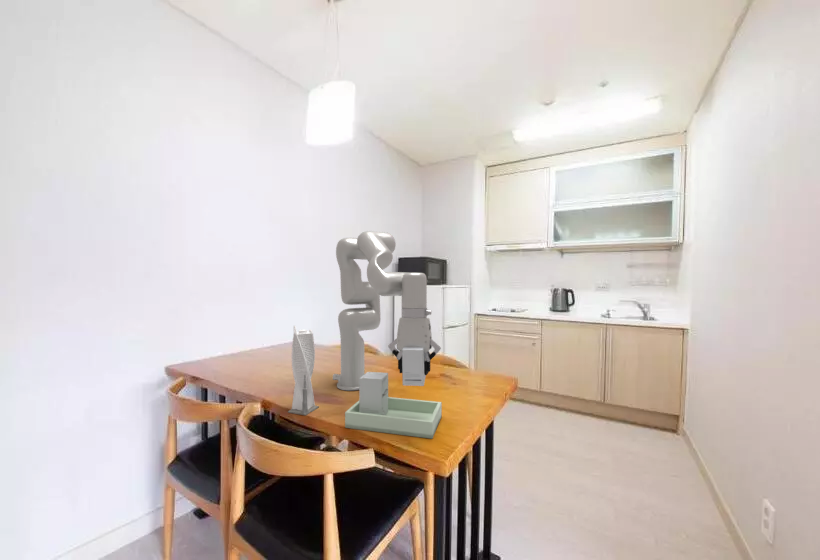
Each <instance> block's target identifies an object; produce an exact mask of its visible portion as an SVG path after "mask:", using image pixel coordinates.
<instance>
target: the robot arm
mask: <svg viewBox="0 0 820 560" xmlns="http://www.w3.org/2000/svg"><path fill="white" fill-rule="evenodd" d="M396 243H397V242H396V240H395V237H394V236H393V235H392V234H391V233H389V232H385V231H384V232H383V231H374V230H373V231H372V230H366V231H364V232H361V233H359V235H358V236H357V237H343V238H342V239H340V240H338V242H337V243H336V248H335V256H336V261H337V263H338V264H337V265H338V268H339V275H340V297H341V301H342V303H343V304H345V305H350V306H352V305H354V306H355V305H365V307H349V308H345V309H343V310H341V311H340V312H339V313H338V316H337V317H338V318H337V322H338V327H339V335H340V374H338V373H333V374H332V380H333V381H337V383H336V387H337V389H339V390H343V391H347V392H348V391H349V392H350V391H359V379H360V378H361V377H362V376H363V375H364V374H365V340H364V338H363V337H362V335H361V334H360V333H359V332H362V331H373V330H376V329H378V328H379V326H380V324H381V300H380V299H381V297H401V317H399V320H398V325H397V333H396V334H397V335H396V338H395V339H394V340H392V342H390V343H388V349H389V350H390V351H391V352H392V354H393V355H394V357H396V360H397V369H398V370H399V374H402V349H403V347H420V348H424V357H425V362H424V375H426V376H427V375H428V374H429V373H430V372H431V360H432V359H434V357H435V356H437V354H438V353H439V352H440V351H441V349H442V348H441V346H440V345H439V344H438V343H436V341H434V340H433V337H432V325H431V321H430V320H431V319H430V318H429V317H428V316H431V315H432V310H431V309H428V307H427V306H428V305H427V303H428V302H427V300H428V299H427V293H428V291H427V288H428V287H427V285H428V284H427V282H428V281H427V275H426V274H425V273H424V272H408V271H407V272H404V271H403V272H402V271H399V272H398V271H383V270H385V269H387V268H388V267H390V265H391V263H392V261H393V258H394V256H393V253H394V251H395V250H396V247H397V246H396V245H397V244H396ZM356 260H366V261H367V262H368V264H367V266H366V278H367V281H363V279H362V270H361V268H360V266H359V263H357V262H356ZM380 296H381V297H380ZM395 346H396V347H395ZM432 348H433V351H432V352H431V353H430V350H431V349H432Z"/></svg>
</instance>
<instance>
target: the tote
mask: <svg viewBox="0 0 820 560" xmlns="http://www.w3.org/2000/svg"><path fill="white" fill-rule="evenodd" d="M442 404H443V403H442V401H434V400H421V399H414V398H413V399H412V398H402V397H401V398H400V397H393V396H388V412H387V413H386V415H377V414H369V413H360V412H359V400H358V401H356V402H355V403H354V404H353V405H352V406H350V407H349V409H347V410H346V411H345V412H344V428H345V429H352V430H353V429H354V430H360V431H368V432H369V431H370V432H375V433H377V432H378V433H385V434H393V435H399V436H406V437H407V436H408V437H416V438H424V439H430V440H431V439H434V436H435V433H436V431H437V429H438V426H439V425H440V421H441V419H442V415H443V414H442V413H443V412H442V410H443V409H442V407H443V405H442Z"/></svg>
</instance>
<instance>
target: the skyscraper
mask: <svg viewBox="0 0 820 560" xmlns="http://www.w3.org/2000/svg"><path fill="white" fill-rule="evenodd" d="M291 343H292V344H291V368H292V370H291V371H292V375H293V379H294V387H293V388H294V390H293V397H292V404H291V409H290V410H288V411H287V413H289V414H295V415H300V416H308V415H309V414H311V413H312V412H314V411H315V410H317V409H318V408H319V407H320V406H319V405H316V404H315V403H316V402H315V398H314V391H313V384H312V376H313V373H314V366H315V359H316V349H315V339H314V332H313V330H312V329H309V330H308V329H299V330H297V326H296V325H293V336H292V342H291ZM310 412H311V413H310Z"/></svg>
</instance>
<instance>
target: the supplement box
mask: <svg viewBox="0 0 820 560" xmlns="http://www.w3.org/2000/svg"><path fill="white" fill-rule="evenodd" d="M358 393H359V394H358V395H359V399H358V401H359V412H360V413H369V414H377V415H386V413H387V412H388V397H389V373H388V372H377V371H376V372H375V371H366V372H364V375H363V376H362V377H361V378H360V379H359V390H358Z"/></svg>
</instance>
